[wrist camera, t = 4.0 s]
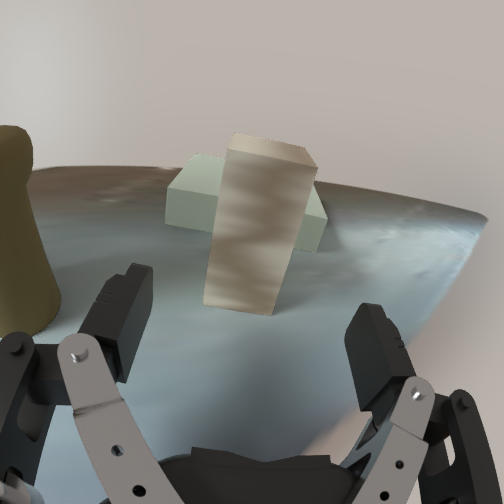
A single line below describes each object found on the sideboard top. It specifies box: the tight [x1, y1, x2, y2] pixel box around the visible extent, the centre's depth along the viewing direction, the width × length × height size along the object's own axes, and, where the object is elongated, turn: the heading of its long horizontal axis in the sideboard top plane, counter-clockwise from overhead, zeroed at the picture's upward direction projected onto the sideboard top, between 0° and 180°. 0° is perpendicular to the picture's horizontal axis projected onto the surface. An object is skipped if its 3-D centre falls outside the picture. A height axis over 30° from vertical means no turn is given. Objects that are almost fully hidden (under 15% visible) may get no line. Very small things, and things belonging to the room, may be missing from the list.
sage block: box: [165, 154, 328, 253], centre depth 31 cm, size 14×12×4 cm
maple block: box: [202, 133, 318, 316], centre depth 19 cm, size 4×4×10 cm
